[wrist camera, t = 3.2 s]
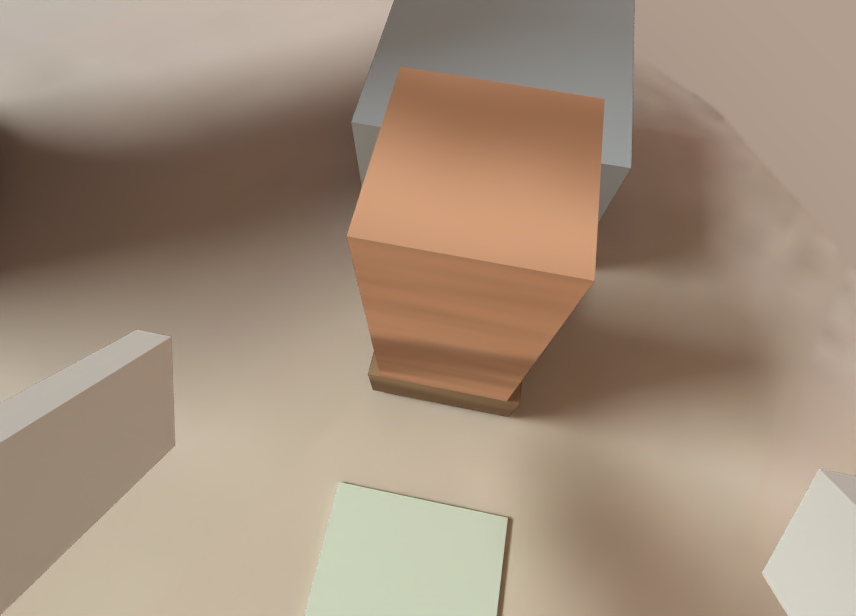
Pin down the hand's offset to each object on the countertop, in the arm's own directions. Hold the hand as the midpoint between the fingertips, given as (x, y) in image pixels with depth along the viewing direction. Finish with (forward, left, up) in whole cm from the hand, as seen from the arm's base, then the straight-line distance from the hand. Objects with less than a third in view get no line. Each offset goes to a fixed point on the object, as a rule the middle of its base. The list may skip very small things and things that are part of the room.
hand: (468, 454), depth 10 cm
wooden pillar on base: (-5, +10, -10) cm, 15 cm away
